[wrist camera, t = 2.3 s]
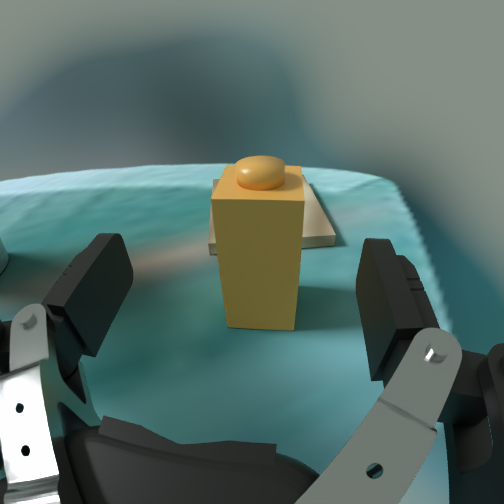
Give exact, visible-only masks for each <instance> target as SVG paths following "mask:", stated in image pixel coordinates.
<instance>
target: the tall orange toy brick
mask: <svg viewBox="0 0 504 504" xmlns="http://www.w3.org/2000/svg"><path fill="white" fill-rule="evenodd" d="M211 206H212V215H213V223H214V231H215V239H216V248H217V255H218V263H219V271H220V278H221V286H222V293H223V300H224V307H225V314H226V321H227V327H231V328H246V329H265V330H289V331H294V325H295V316H296V306H297V295H298V285H299V274H300V262H301V249H302V236H303V222H304V206H305V198H304V189H303V180H302V171H301V166H285V163H284V161H282V160H281V159H278V158H275V157H271V156H252V157H247V158H244V159H241V160H239V161H238V162H237V163H236V165H226V168H225V170H224V172H223V174H222V176H221V178H220V180H219V182H218V185H217V187H216V189H215V191H214V193H213V195H212V198H211Z"/></svg>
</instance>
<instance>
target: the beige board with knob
mask: <svg viewBox="0 0 504 504" xmlns="http://www.w3.org/2000/svg"><path fill="white" fill-rule="evenodd" d="M219 180H220V179H215V180H213V189H212V195H213V193H214V191H215V189H216V187H217V185H218V182H219ZM302 180H303V189H304V198H305V206H304V222H303V236H302V248H311V247H325V246H334V245H335V238H336V234H335V232H334V230H333V228H332V226H331V224H330V223H329V221H328V219H327V217H326V215H325V213H324V211H323V209H322V208H321V206H320V204H319V202H318V200H317V198H316V197H315V195H314V193H313V191H312V189H311V188H310V186H309V184H308V182H307V180H306V179H305V177H304V175H302ZM208 245H209V252H210V255H215V254H217V248H216V239H215V231H214V223H213V215H212V206H211V213H210V226H209V241H208Z"/></svg>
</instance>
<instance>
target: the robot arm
mask: <svg viewBox="0 0 504 504" xmlns="http://www.w3.org/2000/svg"><path fill="white" fill-rule="evenodd" d="M8 259H9V256H8V253H7V251H6V249H5V247H4V245H3V243H2V241H1V238H0V274H1V272H2V271H3V270H4V268H5V267H6V265H7V263H8ZM132 282H133V268H132V265H131V262H130V259H129V256H128V253H127V250H126V247H125V244H124V241H123V238H122V236H121V235H120V234H118V233H100V234H98V235H97V236H96V237H95V238H94V240H93V241H92V242H91V243H90V245H89V246H88V247H87V248H86V249H84V250H83V251H82V252H81V253H79V254H78V255H77V256H76V257H75V258H74V259H73V261H72V262H71V263H70V265H69V268H67V269H66V270H65V271H64V273H63V276H61V277H60V278H59V279H58V281H57V282H56V283H55V285H54V286H53V288H52V289H51V290H50V292H49V293H48V295H47V296H46V297H45V299H44V300H43V302H42V303H41V304H31V305H28V306H26V307H24V308H23V309H21V310H20V311H19V312H18V313H17V314H16V315H15V317H14V319H13V320H12V321H5V322H2V321H1V320H0V504H398V503H399V502H400V500H401V498H402V497H403V495H404V494H405V492H406V491H407V489H408V488H409V486H410V485H411V483H412V481H413V480H414V478H415V476H416V474H417V473H418V471H419V469H420V468H421V466H422V464H423V462H424V461H425V459H426V457H427V455H428V453H429V451H430V449H431V447H432V445H433V443H434V441H435V439H436V436H437V430H436V429H434V427H435V424H436V422H442V423H444V431H445V439H446V449H447V460H448V474H449V501H450V502H449V504H504V344H502V343H501V344H497V345H495V346H494V347H493V348H492V349H491V350H490V351H489V353H488V354H487V355H484V354H479V353H474V352H469V351H465V350H462V349H461V347H460V345H459V343H458V341H457V340H456V339H455V338H454V337H453V336H452V335H451V334H450V333H448V332H447V331H445V330H442V329H440V327H439V324H438V322H437V319H436V316H435V314H434V311H433V309H432V306H431V304H430V301H429V299H428V296H427V294H426V291H424V287H423V284H422V282H421V281H420V277H419V275H418V273H417V271H416V268H415V266H414V265H413V264H412V263H411V262H410V261H409V260H408V259H407V258H406V257H405V256H403V255H396V253H395V250H394V248H393V246H392V243H391V241H390V240H389V239H374V238H366V239H365V241H364V244H363V249H362V254H361V259H360V263H359V268H358V273H357V278H356V296H357V301H358V306H359V311H360V317H361V322H362V327H363V333H364V339H365V345H366V351H367V357H368V363H369V370H370V377H371V381H382V380H383V385H384V391H383V392H382V394H381V395H380V397H379V398H378V400H377V401H376V403H375V404H374V406H373V407H372V409H371V410H370V412H369V413H368V415H367V416H366V418H365V419H364V420H363V422H362V423H361V425H360V426H359V427H358V429H357V430H356V432H355V433H354V434H353V436H352V437H351V438H350V440H349V441H348V442H347V443H346V445H345V446H344V447H343V449H342V450H341V451H340V452H339V454H338V455H337V456H336V457H335V459H334V460H333V461H332V462H331V464H330V465H329V466H328V467H327V468H326V469H325V471H324V472H323V473H322V474H321V475H319V474H318V473H317V472H316V471H314V470H313V469H311V468H310V467H308V466H307V465H305V464H303V463H302V462H300V461H298V460H296V459H293V458H291V457H288V456H285V455H282V454H278V453H276V445H277V444H266V443H251V442H239V441H221V442H211V443H200V444H185V445H183V444H177V443H175V442H173V441H170V440H168V439H166V438H164V437H162V436H160V435H158V434H156V433H154V432H152V431H150V430H148V429H146V428H144V427H142V426H140V425H137V424H133V423H129V422H125V421H121V420H118V419H114V418H111V417H107V416H103V419H102V422H101V420H100V419H99V417H98V416H97V414H96V412H95V410H94V407H93V404H92V400H91V396H90V392H89V389H88V385H87V381H86V376H85V372H84V368H83V364H82V362H81V361H80V358H81V356H82V354H83V355H87V356H92V357H96V355H97V352H98V350H99V348H100V346H101V344H102V342H103V340H104V338H105V336H106V334H107V332H108V330H109V328H110V326H111V324H112V322H113V320H114V318H115V316H116V314H117V312H118V310H119V308H120V306H121V304H122V302H123V300H124V298H125V297H126V295H127V293H128V291H129V289H130V287H131V285H132ZM487 416H488V417H487ZM488 418H489V422H488ZM489 424H490V427H489ZM490 429H491V433H490ZM491 435H492V439H491ZM492 440H493V446H492ZM3 463H4V467H5V472H6V474H5V473H4V472H2V471H1V470H2V466H3Z"/></svg>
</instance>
